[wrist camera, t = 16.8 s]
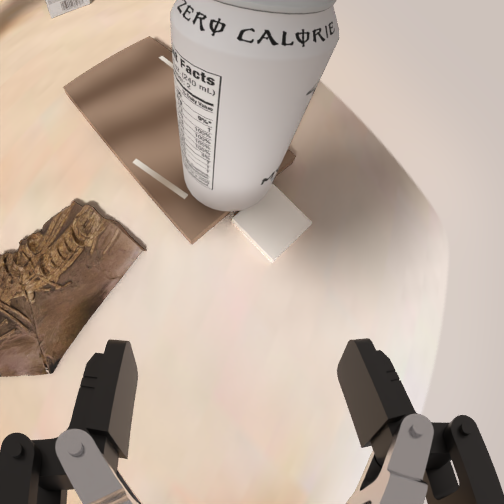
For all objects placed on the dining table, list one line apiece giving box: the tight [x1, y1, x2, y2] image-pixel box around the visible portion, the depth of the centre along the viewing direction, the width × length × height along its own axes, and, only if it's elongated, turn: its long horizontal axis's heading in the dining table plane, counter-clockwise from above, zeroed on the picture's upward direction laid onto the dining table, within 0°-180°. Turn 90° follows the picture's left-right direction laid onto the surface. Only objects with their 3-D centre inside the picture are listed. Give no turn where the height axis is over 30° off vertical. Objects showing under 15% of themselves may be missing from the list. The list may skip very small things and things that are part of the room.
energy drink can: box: [170, 0, 339, 212], centre depth 14 cm, size 6×6×15 cm
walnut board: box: [63, 36, 296, 244], centre depth 22 cm, size 20×10×1 cm, turn 43°
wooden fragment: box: [0, 201, 146, 377], centre depth 17 cm, size 26×11×1 cm, turn 116°
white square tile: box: [232, 184, 312, 263], centre depth 22 cm, size 4×4×1 cm
